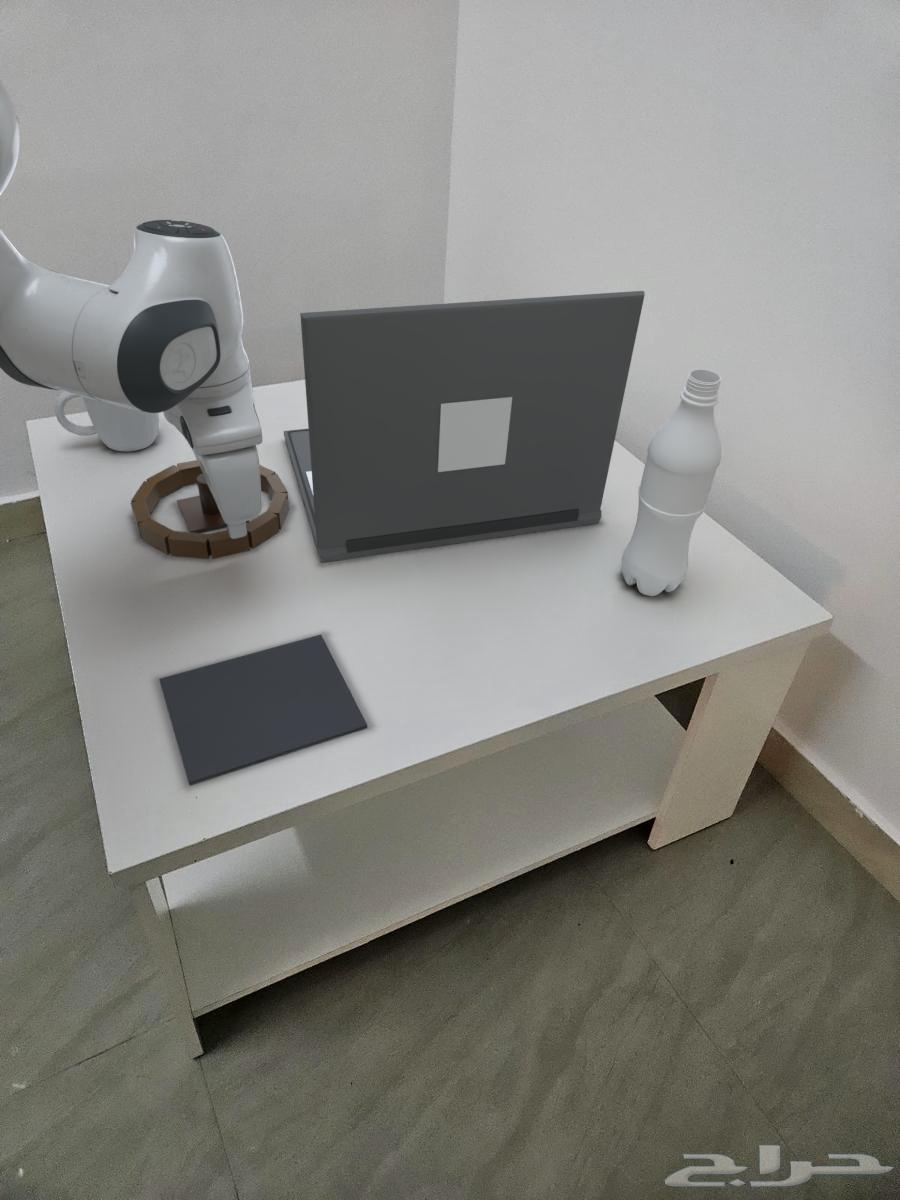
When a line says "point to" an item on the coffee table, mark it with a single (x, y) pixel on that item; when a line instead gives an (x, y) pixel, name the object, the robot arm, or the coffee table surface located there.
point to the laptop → (459, 419)
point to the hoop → (198, 542)
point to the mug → (112, 424)
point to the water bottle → (674, 488)
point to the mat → (258, 707)
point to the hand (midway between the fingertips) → (226, 510)
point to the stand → (201, 510)
